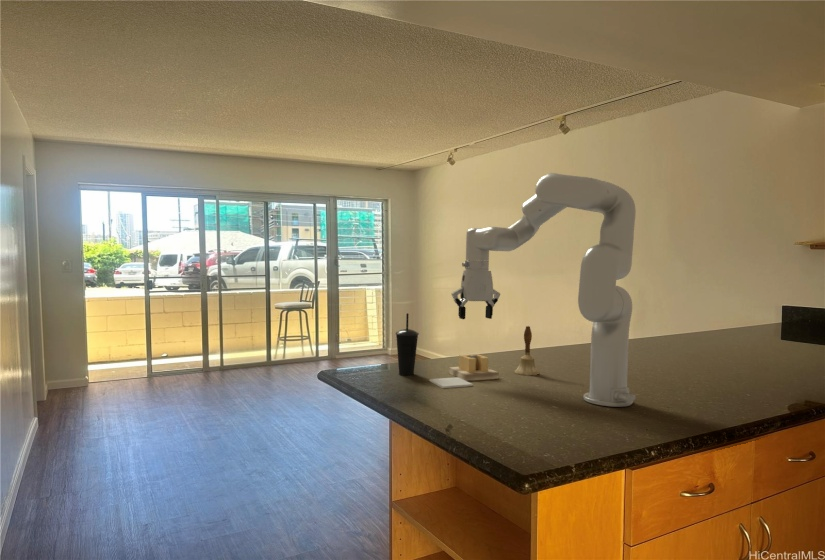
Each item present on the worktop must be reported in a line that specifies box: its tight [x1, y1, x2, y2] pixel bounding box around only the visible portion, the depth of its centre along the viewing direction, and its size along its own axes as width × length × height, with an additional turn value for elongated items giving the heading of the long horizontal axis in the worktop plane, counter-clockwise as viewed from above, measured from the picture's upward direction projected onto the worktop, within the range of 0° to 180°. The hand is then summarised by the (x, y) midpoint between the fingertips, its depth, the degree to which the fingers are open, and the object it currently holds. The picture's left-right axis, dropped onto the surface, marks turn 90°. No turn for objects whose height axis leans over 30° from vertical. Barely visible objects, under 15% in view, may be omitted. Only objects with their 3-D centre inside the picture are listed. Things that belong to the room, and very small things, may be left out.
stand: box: [448, 354, 499, 382], centre depth 177 cm, size 12×12×7 cm
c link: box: [458, 353, 489, 373], centre depth 177 cm, size 7×7×4 cm
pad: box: [428, 376, 474, 389], centre depth 165 cm, size 10×10×1 cm
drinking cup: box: [395, 313, 420, 376], centre depth 178 cm, size 8×8×20 cm
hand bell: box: [514, 325, 540, 376], centre depth 183 cm, size 8×8×16 cm
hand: (475, 318), depth 177 cm, fingers open, 9 cm apart
